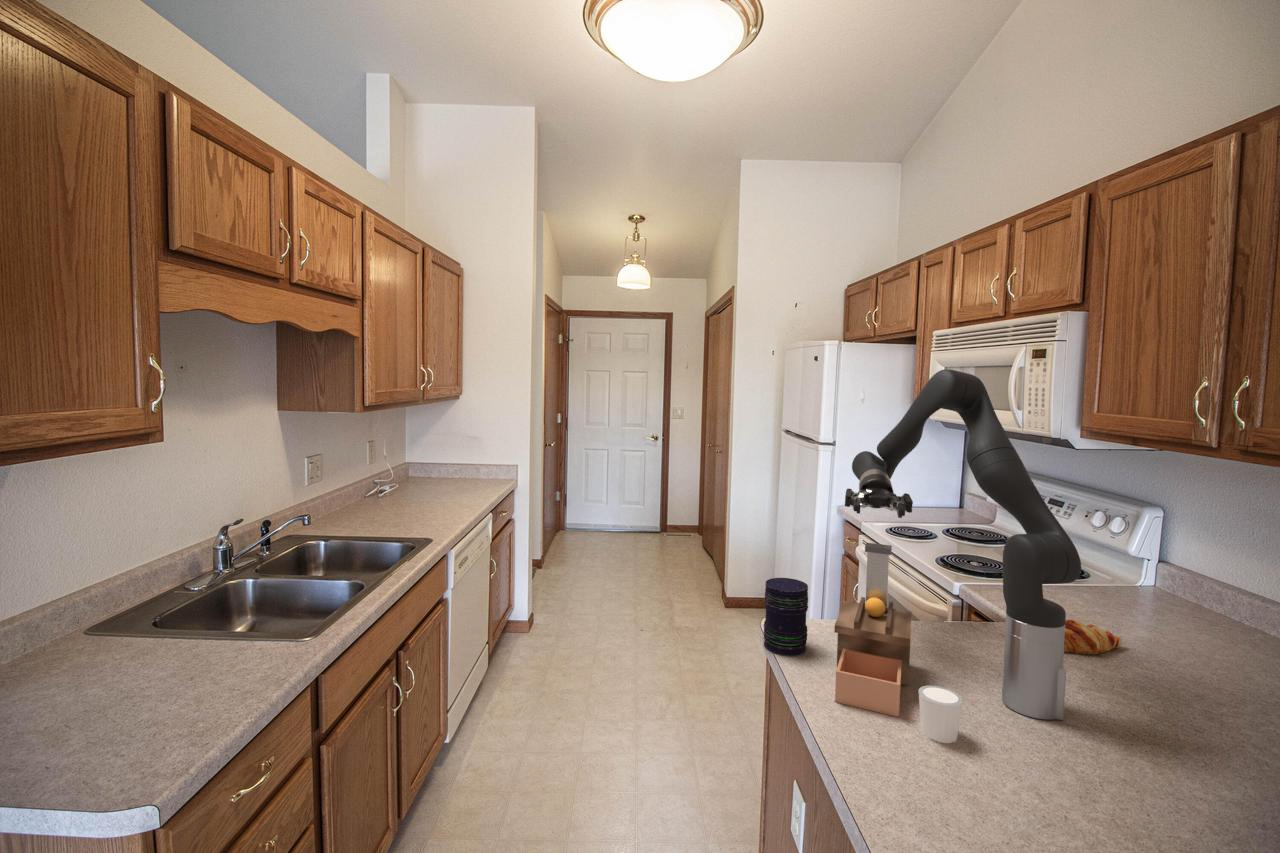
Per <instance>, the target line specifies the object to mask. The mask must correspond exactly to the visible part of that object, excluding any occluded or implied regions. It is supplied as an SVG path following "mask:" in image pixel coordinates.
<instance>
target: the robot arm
mask: <svg viewBox="0 0 1280 853" xmlns="http://www.w3.org/2000/svg"><path fill="white" fill-rule="evenodd" d="M940 409H941V410H947V411H953V412H956V413H958V415H959V416H960V417H961V419H962V421H963V423H964V424H965V427H966V430H967V431H968V442H967V447H966V453H965V454H966V461H967V463H968V464H967V465H968V466H969V469H970V472H971V474H972V475H973V478H974V479H975V481H976V483H977V485H978V487H979V488H980V489H981V490H982V491H983V493H985V494H986V495H987V496H988V497H989V498H990V499H992V500H993V501H994V502H995V503H996V504H998V506H1000V507H1002V508H1003V509H1004V510H1006V511H1007V512H1008V513H1009V514H1010V515H1011V516H1012V517H1013V518H1014V519H1016V521H1017V522H1018V523H1019V524H1020V526H1021V527H1022V529H1023V530H1024V532H1025V533H1017V534H1013V535H1011V536H1010V537H1009V538H1008V539H1007V540H1006V542H1005V544H1004V547H1003V551H1002V593H1003V594H1002V595H1003V597H1004V598H1003V599H1004V601H1005V608H1006V610H1005V627H1004V646H1003V648H1004V649H1003V650H1004V651H1003V669H1002V687H1001V701H1002V703H1003V704H1004V705H1005V706H1007V707H1008V708H1009V709H1010V710H1012V711H1014V712H1016V713H1019V714H1021V715H1024V716H1026V717H1030V718H1033V719H1039V720H1049V721H1050V720H1060V721H1063V720H1064V717H1065V716H1064V713H1065V700H1066V698H1065V697H1066V696H1065V694H1066V679H1067V678H1066V677H1067V669H1066V667H1065V665H1064V657H1065V656H1064V655H1065V654H1064V653H1065V652H1064V637H1065V621H1066V620H1067V615H1066V610H1065V608H1064V607H1063V606H1061V605H1060V604H1059V603H1057V602H1054V601H1053V600H1049V599H1046V598H1044V589H1043V588H1044V587H1043V585H1058V584H1059V585H1061V584H1071V583H1073V582H1075V581H1076V580H1078V578H1079V576H1080V575H1081V572H1082V562H1081V557H1080V554H1079V552H1078V550H1077V547H1076V546H1075V544H1074V542H1073V540H1072V538H1070V536H1069V534H1068V533H1067V532H1066V530H1065V528H1063V526H1062V525H1061V523H1060V521H1059V520H1058V519H1057V518H1056V517H1055V515H1054V514H1053V512H1052V511H1051V509H1050V507H1049V506H1048V505H1047V503H1046V502H1045V500H1044V498H1043V497H1042V494H1040V492H1039V490H1038V488H1037V487H1036V485H1035V483H1034V481H1033V480H1032V478H1031V476H1030V474H1029V472H1028V471H1027V469H1026V466H1025V464H1024V462H1023V461H1022V458H1021V457H1020V455H1019V453H1018V452H1017V450H1016V448H1015V446H1014V445H1013V443H1012V441H1010V438H1009V436H1008V434H1007V432H1006V430H1005V429H1004V427H1003V425H1002V422H1000V419H999V417H998V415H997V413H996V412H995V408H994V406H993V403H992V401H991V398H990V396H989V393H988V390H987V388H986V386H985V383H983V381H982V380H981V379H980V378H979V377H978V376H976V375H974V374H971V373H967V372H964V371H959V370H955V369H948V368H944V369H941V370H938V371H937V372H936V373H934V374H933V375H932V376H931V377H930V379H929V380H928V381H927V382H926V384H925V385H924V386H923V388H922V389H921V390H920V392H919V394H918V395H917V396H916V398H915V399H914V400H913V402H912V404H911V405H910V406H909V408H908V410H907V411H906V412H905V414H904V415H903V417H902V418H901V420H899V422H898V423H897V424H896V425H895V426H894V428H892V429H891V430H890V432H888V433H887V434H886V435H885V437H883V438H882V439H881V440H880V441H879V443H878V444H877V445H876V452H877V454H878V455H876V454H875V453H873V452H871V451H869V450H868V451H867V450H864V451H861V452H859V453H857V454H856V455H855V456H854V457H853V460H852V463H851V470H852V473H853V475H854V476H855V477H856V478H857V479H858V480H859V481H858V482H859V483H858V492H856V491H854V490H853V489H852V488H846V492H845V498H844V506H845V507H847V508H850V507H851V506H852V508H853V509H852V510H853V511H854V512H856V514H857V515H858V514H859V515H861V508H862V509H866V508H868V507H869V508H871V509H883V508H884V509H886V510H889V511H891V512H893V511H894V512H896V514H897V517H898V518H900V519H902V518H903V517H905V515H906V513H909V514H910V513H911V514H912V513H913V505H914V502H913V499H912V498H911V495H910V494H909V493H903V495H902V496H900V495H897V494H896V493H895V492H894V489H893V486H892V481H891V479H892V476H893V475H894V473H895V471H896V469H897V467H898V466H899V465H900V463H901V462H902V460H904V459H905V458H906V457H907V456H908V455H909V454H910V453H912V451H913V450H914V449H915V448H917V446H918V445H919V443H920V442H921V439H922V436H923V431H924V427H925V424H926V422H927V420H928V419H929V418H930V417H931V416H932V415H934V414H935V413H936V412H938V411H939V410H940Z"/></svg>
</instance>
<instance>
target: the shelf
mask: <svg viewBox="0 0 1280 853" xmlns="http://www.w3.org/2000/svg"><path fill="white" fill-rule="evenodd" d="M865 603H866V596H865V597H864V596H861V597H860V600H859V602H855V601H850V600H843V602H842V604H841V608H840V610H839V613H838V615H837V618H836V621H835V623H834V631H833V632H834V633H836V634H837V642H836V643H837V646H836V649H837V650H836V651H837V652H836V667H837V666H838V663H839V660H840V657H841V653H842V650H843V649H848V650H853V651H858V652H863V653H868V654H873V655H878V656H883V657H889V658H894V659H899V660H902V669H901V685H905V686H909V685H910V682H909V681H910V660H911V639H912V638H911V635H912V634H911V632H912V611H911V610H906V609H905V610H904V609H899V608H894V601H892V600H891V601H890V600H889V602H888V606H887V611H886V612H884V614H883V615H882V616H880V617H872V616H870V615H869V614H868V613H867V612H866V609H865Z"/></svg>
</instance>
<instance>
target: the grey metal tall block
mask: <svg viewBox="0 0 1280 853" xmlns="http://www.w3.org/2000/svg"><path fill="white" fill-rule="evenodd" d="M892 550H893V546H892V545H891V544H890V545H889V544H881V543H873V542H866V543H865V544H864V552H866V553H867V556H866V580H865V581H866V582H865V586H866V587H865V602H866V601H867V600H868V599H870V598H878V599H880V600H881V601H882V602H883V603H884V605H885V612H886V611H887V608H888V589H889V586H888V585H889V566H890V565H889V564H890V560H889V559H890V556H891V555H892Z"/></svg>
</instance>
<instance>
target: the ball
mask: <svg viewBox="0 0 1280 853" xmlns="http://www.w3.org/2000/svg"><path fill="white" fill-rule="evenodd" d="M865 609H866V612H867V613H868V614H869V615H870V616H872V617H880V616H882V615H883V614H884V612H885V605H884V603H883V602H882V601H881V600H880V599H878V598H870V599H868V600H867V601H866V600H865Z"/></svg>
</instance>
